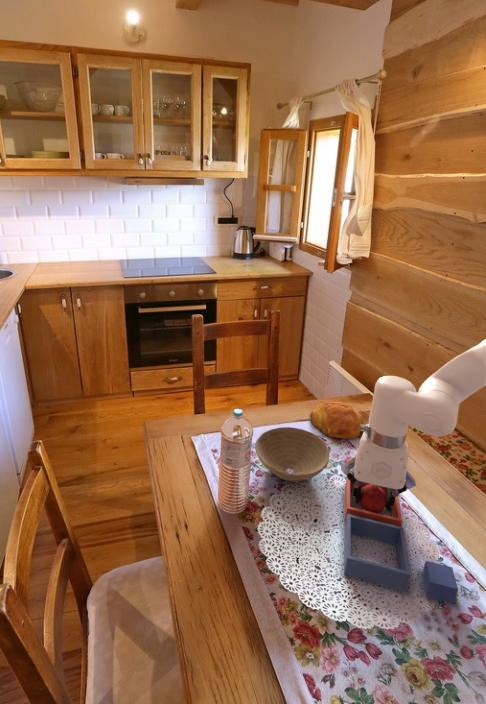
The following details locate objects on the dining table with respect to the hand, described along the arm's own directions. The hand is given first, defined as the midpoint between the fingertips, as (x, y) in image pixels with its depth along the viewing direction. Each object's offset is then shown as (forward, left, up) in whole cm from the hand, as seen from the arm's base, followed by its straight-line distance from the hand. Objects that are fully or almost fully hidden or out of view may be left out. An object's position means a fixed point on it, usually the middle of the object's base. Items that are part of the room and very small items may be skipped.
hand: (372, 501), depth 90 cm
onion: (0, 0, -3) cm, 3 cm away
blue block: (-11, +16, -4) cm, 19 cm away
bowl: (+19, -7, -4) cm, 21 cm away
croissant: (+8, -32, -4) cm, 34 cm away
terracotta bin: (0, 0, -4) cm, 4 cm away
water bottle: (+30, +8, -4) cm, 31 cm away
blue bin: (0, +13, -4) cm, 13 cm away
